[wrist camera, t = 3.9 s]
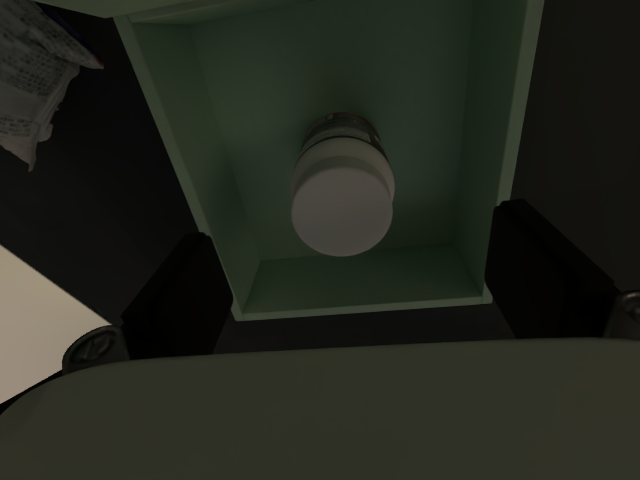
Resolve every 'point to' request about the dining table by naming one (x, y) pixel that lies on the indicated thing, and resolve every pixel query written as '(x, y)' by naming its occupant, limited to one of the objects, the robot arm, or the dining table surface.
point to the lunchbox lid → (110, 6)
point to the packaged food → (35, 72)
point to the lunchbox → (340, 96)
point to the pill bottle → (342, 186)
